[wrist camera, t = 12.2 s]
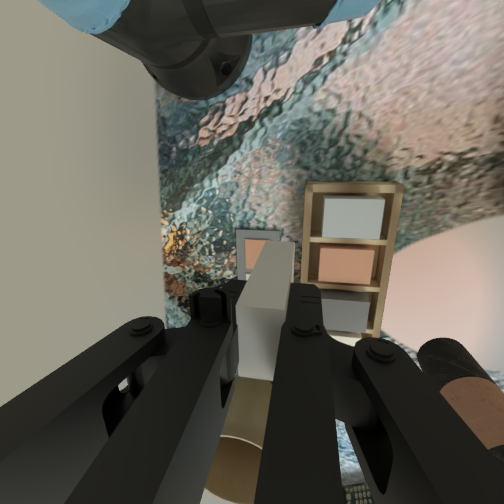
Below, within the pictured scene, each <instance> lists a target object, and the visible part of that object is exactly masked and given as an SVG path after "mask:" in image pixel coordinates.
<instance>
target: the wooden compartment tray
mask: <svg viewBox="0 0 504 504" xmlns="http://www.w3.org/2000/svg"><path fill="white" fill-rule="evenodd" d="M404 186H405V185H403V184H401V183H398V182H377V181H306V182H305V200H304V221H303V241H302V262H301V282H300V283H305V284H315V285H316V286H317V287H318V288H319V289H329V290H343V291H357V292H366V293H367V296H368V298H369V301H370V307H369V314H368V320H367V327H366V333H361V336H362V338H367V337H375V338H379V335H380V329H381V323H382V317H383V311H384V305H385V299H386V293H387V287H388V281H389V275H390V269H391V263H392V257H393V251H394V245H395V239H396V234H397V228H398V222H399V216H400V210H401V204H402V198H403V192H404ZM324 195H357V196H380V197H382V198H384V199H385V204H384V211H383V218H382V225H381V232H380V238H379V239H354V238H328V237H322V233H321V227H322V213H323V199H324ZM320 242H322V243H346V244H369V245H371V246H372V247H373V249H374V250H375V252H374V259H373V266H372V273H371V280H370V285H369V284H354V283H340V282H325V281H318V260H319V246H320Z"/></svg>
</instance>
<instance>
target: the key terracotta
mask: <svg viewBox="0 0 504 504" xmlns="http://www.w3.org/2000/svg"><path fill="white" fill-rule="evenodd" d="M374 252H375V250H374V249H373V247H372V246H371V245H369V244H346V243H322V242H320V246H319V260H318V281H325V282H340V283H354V284H369V285H370V280H371V273H372V266H373V259H374Z"/></svg>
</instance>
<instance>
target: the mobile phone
mask: <svg viewBox="0 0 504 504" xmlns="http://www.w3.org/2000/svg"><path fill="white" fill-rule="evenodd" d="M342 493H343V503H344V504H375V503H374V500H373V498H372V495H371V492H370V490H369V487H368V485H367V483H363V484H356V485H348V486H342Z"/></svg>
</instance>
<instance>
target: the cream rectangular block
mask: <svg viewBox="0 0 504 504" xmlns="http://www.w3.org/2000/svg"><path fill="white" fill-rule="evenodd" d="M326 331H327V333H328V334H329V335H330V336H331V337H332V338H334V339H335V340H337V341H339V342H342V343H344V344H347V345H351V346H355V343H356V342H357V341H359V340H360V339H362V336H361V333H358V332H348V331H337V330H327V329H326Z"/></svg>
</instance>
